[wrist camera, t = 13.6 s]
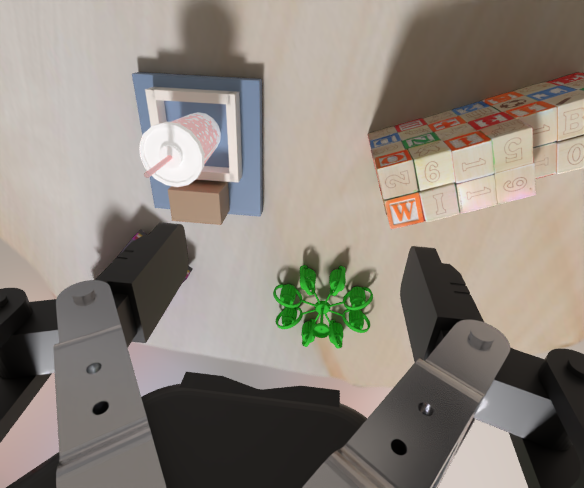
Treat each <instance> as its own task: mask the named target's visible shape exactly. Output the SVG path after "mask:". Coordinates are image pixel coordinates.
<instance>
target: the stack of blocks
mask: <svg viewBox="0 0 584 488" xmlns="http://www.w3.org/2000/svg"><path fill="white" fill-rule="evenodd" d="M368 137H369V142H370V146H371V153H372V157H373V161H374V165H375V169H376V173H377V178H378V182H379V187H380V191H381V195H382V199H383V202H384V206H385V210H386V214H387V216H388V220H389V224H390V228H391V229H396V228H400V227H404V226H408V225H413V224H417V223H421V222H424V221H426V222H430V221H434V220H438V219H442V218H447V217H451V216H454V215H458V214H460V213H468V212H472V211H476V210H480V209H484V208H488V207H492V206H495V205H497V204H502V203H506V202H510V201H514V200H518V199H522V198H526V197H530V196H534V195H536V183H535V179H537V178H541V177H545V176H549V175H553V174H561V173H565V172H569V171H573V170H577V169H581V168H584V73H580V72H577V73H574V74H571V75H568V76H564V77H561V78H558V79H555V80H552V81H548V82H542V83H538V84H535V85H532V86H528V87H525V88H522V89H518V90H515V91H513V92H508V93H504V94H501V95H498V96H494V97H491V98H487V99H484V100H482V101H480V102H476V103H473V104H470V105H466V106H463V107H459V108H456V109H453V110H451V111H446V112H443V113H440V114H436V115H433V116H430V117H426V118H421V119H417V120H414V121H410V122H407V123H403V124H400V125H397V126H393V127H389V128H385V129H382V130H379V131H375V132H372V133H369V134H368Z"/></svg>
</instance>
